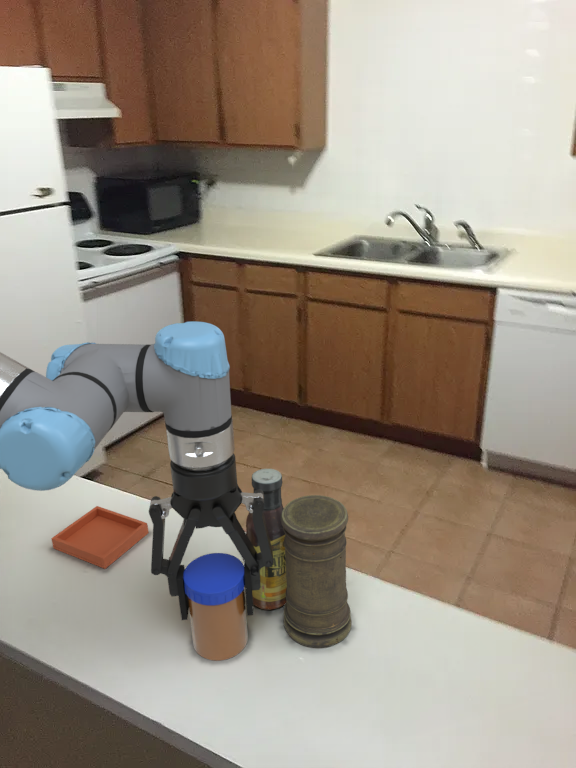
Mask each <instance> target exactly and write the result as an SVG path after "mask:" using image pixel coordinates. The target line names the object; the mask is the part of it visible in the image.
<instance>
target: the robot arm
mask: <svg viewBox="0 0 576 768" xmlns="http://www.w3.org/2000/svg"><path fill="white" fill-rule="evenodd" d="M226 346H227V345H226V340H225V335H224V333H223V331H222V330H221V329H220V328H219V327H218V326H216V325H214V324H212V323H210V322H206V321H195V320H194V321H185V322H182V323H180V322H176V323H171V324H169V325H165V326H164V327H161V329H159V330H158V331H157V333H156V334H155V338H154V343H151V344H137V343H136V344H134V343H133V344H131V343H129V344H127V343H125V344H124V343H96V342H89V341H88V342H82V343H73V344H64V345H61V346H59V347H57V348H56V349H55V350H54V351H53V352H52V354H51V356H50V361H49V362H48V363H47V366H46V370H45V375H43V374H41V373H39V372H36V371H35V370H33V369H31V368H30V367H27V366H25V365H24V364H23V363H21V362H19V361H17V360H15V359H13V358H11V357H10V356H8V355H6V354H4V353H3V352H1V351H0V470H2V471H3V472H4V473H5V475H6V476H7V479H8V480H9V481H11V482H12V483H13V484H15V485H17V486H20V487H21V488H24V489H27V490H31V491H38V492H39V491H40V492H42V491H43V492H44V491H51V490H54V489H57V488H60V487H62V486H63V485H65V484H66V483H67V482H69V481H70V480H71V478H73V476H74V475H75V474H76V473H77V472H78V471H79V470H80V469H81V468H83V467H84V466H85V464H86V463H88V462H89V461H90V460H91V458H92V457H93V455H94V453H95V450H96V449H97V447H98V446H99V445H100V444H101V442H102V441H103V439H104V438H105V437H106V436H107V434H108V433H109V432H110V431H111V430H112V428H113V427H114V426H115V424H116V423H117V421H118V420H119V419H120V418H121V416H122V415H123V414H124V413H163V417H164V425H165V432H166V440H167V448H168V456H169V459H170V462H169V465H170V473H171V482H172V490H173V491H172V493H171V495H170V496H168V497H164V498H161V497H160V496H157V495H155V496H152V497H151V499H150V503H149V508H148V515H149V517H150V521H151V523H152V544H151V561H150V562H151V563H150V573H151V575H153V576H159V575H160V574H161V575H163V576H166V578H167V584H168V591H169V596H171V597H178V604H179V611H180V618H181V621H188V619H189V604H188V596H187V594H185V587H184V579H183V576H184V571H185V568H186V567H185V564H182V562H183V559H184V557H185V554H186V551H187V548H188V545H189V543H190V540H191V538H192V537H193V535H194V531H195V530H197V529H204V528H208V527H211V528H221V529H222V530H223V531H224V534H226V535H228V537H229V539H230V540H231V542H232V543H233V545H234V547H235V548H236V550H237V552H238V553H239V555H240V556H241V558H242V560H243V565H244V578H245V587H244V592H245V605H246V616H254V604H253V595H252V590H259V589H260V587H261V584H260V569H261V568H262V567H264V566H266V567H271V566H273V550H272V546H271V542H270V538H269V534H268V530H267V525H266V521H265V517H264V513H263V509H264V493H263V491H262V490H260V489H258V490H255V491H254V490H253V492H245V491H243V490H242V489H241V488H240V485H239V484H238V475H237V462H236V461H237V459H236V454H235V450H236V447H235V434H234V422H233V421H234V420H233V414H232V398H231V384H230V368H231V366H230V363H229V360H228V354H227V353H228V352H227V347H226ZM241 504H242V505H244V506H245V509H246V511H248V513H249V512H250V513H252V518H253V524H254V528H255V532H256V535H257V539H258V543H259V547H260V551H261V552H260V553H257V551H256V550H255V548H254V546H253V545H252V543H251V541H250V540H249V538H248V536H247V535H246V531H245V530H244V528H243V527H242V525H241V523H240V521H239V520H238V517H237V514H236V511H237V510H238V509H239V507H240V506H241ZM171 509H173V510H174V511H175V512H176V513H177V514H178V515H179V516H180V517H181V518H182V519H183V520H182V523H181V526H180V529H179V532H178V534H177V537H176V539H175V542H174V545H173V548H172V550H171V552H170V556H169V557H168V559H167V558H164V550H165V549H164V548H165V532H166V518H167V517H169V515H170V510H171Z"/></svg>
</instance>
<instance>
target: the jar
mask: <svg viewBox="0 0 576 768" xmlns="http://www.w3.org/2000/svg"><path fill="white" fill-rule="evenodd" d="M188 604H189V610H188V614H189V621H190V628H191V629H190V630H191V636H192V645H193V648H194V650H195V652H196V653H197V654H198V655H199V656H200V657H202V658H204V659H206V660H209V661H216V662H217V661H226V660H229V659H232V658H234V657H236V656H237V655H239V654H240V653H242V651H243V650H244V649H245V647H246V646H247V644H248V640H249V635H248V620H247V605H246V592H245V589H244V590H243V591H242V592H241V594H240V595H239V596H237V597H236V598H235V599H233V600H231V601H229V602H227V603H224V604H220V605H202V604H199V603H196V602H194V601H192V600H191V599H190V598H189V597H188Z"/></svg>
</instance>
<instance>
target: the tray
mask: <svg viewBox="0 0 576 768" xmlns="http://www.w3.org/2000/svg"><path fill="white" fill-rule="evenodd" d="M147 535H149V527H148V523H147V522H146V521H142V520H139V519H137V518H134V517H131V516H128V515H125V514H122V513H118V512H117V511H113V510H110V509H108V508H104V507H101V506H99V505H96V506H95V507H93V508H92V509H90V510H89V511H88V512H86V513H85V514H83V515H82V516H80V517H79V518H77V519H76V520H75V521H73V522H72V523H71V524H69V525H68V526H66V527H65V528H64V529H62V530H61V531H59V532H58V533H56V534H55V535H54V536H53V537H51V544H52V549H54V550H56V551H59V552H61V553H64V554H67V555H69V556H71V557H73V558H76V559H79V560H82V561H84V562H86V563H90V564H92V565H94V566H96V567H98V568H101V569H104V570H106V569H107V568H109V566H111V565H112V564H113V563H114V562H115V561H117V560H118V559H119V558H120V557H122V556H123V555H124V554H126V553H127V552H128V551H129V550H130V549H131V548H132V547H134V546H135V545H136V544H137V543H139V542H140V541H141V540H142V539H144V538H145V537H146V536H147Z"/></svg>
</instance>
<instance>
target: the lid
mask: <svg viewBox="0 0 576 768" xmlns="http://www.w3.org/2000/svg"><path fill="white" fill-rule="evenodd" d="M184 568H185V571H184V576H183V579H184V587H185V594H187V596H188V597H189V598H190V599H191V600H192V601H194V602H196V603H199V604H202V605H220V604H224V603H227V602H229V601H231V600H233V599H235V598H236V597H237V596H239V595H240V594H241V592H242V591H243V590H244V591H245V578H244V562H242V560H240V559H239V558H238V557H237V556H234V555H232V554H229V553H225V552H212V553H206V554H203V555H200V556H198V557H196V558H194V559H193V560H192V561H191V562H189V563H188V564H187V565H186V567H184Z"/></svg>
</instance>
